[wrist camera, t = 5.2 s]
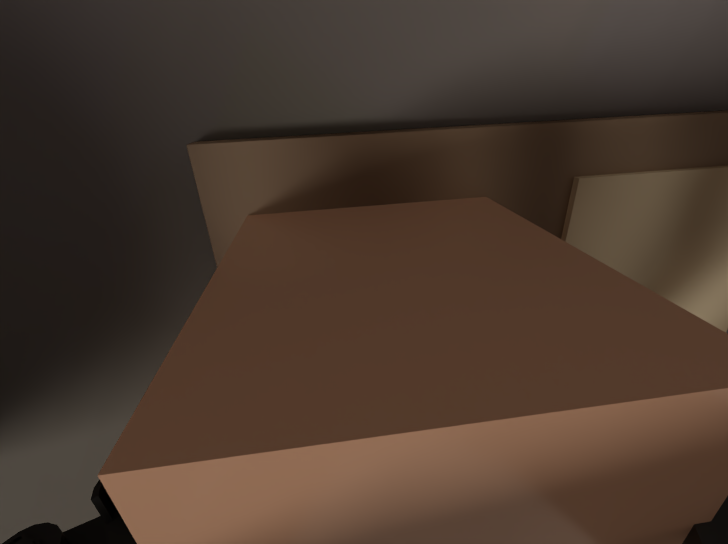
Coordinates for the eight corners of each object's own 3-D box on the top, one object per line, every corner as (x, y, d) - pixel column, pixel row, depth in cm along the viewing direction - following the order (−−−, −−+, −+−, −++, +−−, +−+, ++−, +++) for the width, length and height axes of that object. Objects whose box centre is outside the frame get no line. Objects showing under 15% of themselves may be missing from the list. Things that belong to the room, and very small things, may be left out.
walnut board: (262, 423, 19) (259, 445, 18) (195, 141, 13) (183, 145, 11) (678, 368, 21) (700, 384, 20) (795, 106, 15) (835, 107, 14)
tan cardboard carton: (283, 399, 17) (248, 736, 8) (247, 215, 13) (97, 476, 4) (466, 376, 18) (622, 657, 9) (485, 196, 14) (805, 377, 5)
